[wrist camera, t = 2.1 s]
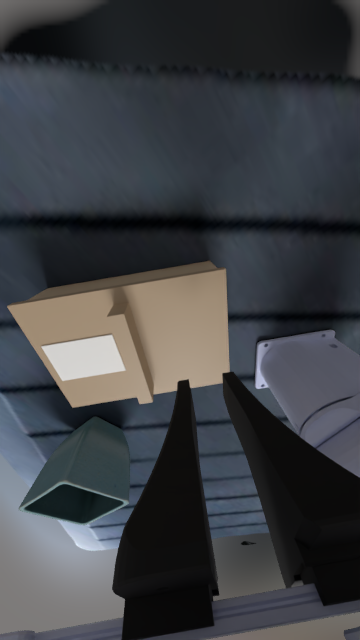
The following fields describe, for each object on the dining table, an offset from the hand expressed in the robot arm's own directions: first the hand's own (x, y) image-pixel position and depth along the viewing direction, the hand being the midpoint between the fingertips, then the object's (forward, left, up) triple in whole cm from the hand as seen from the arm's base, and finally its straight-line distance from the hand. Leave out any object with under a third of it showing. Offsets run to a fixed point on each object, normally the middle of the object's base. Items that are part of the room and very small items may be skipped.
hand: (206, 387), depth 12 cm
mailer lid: (+5, 0, -6) cm, 8 cm away
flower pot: (+16, +17, -11) cm, 26 cm away
